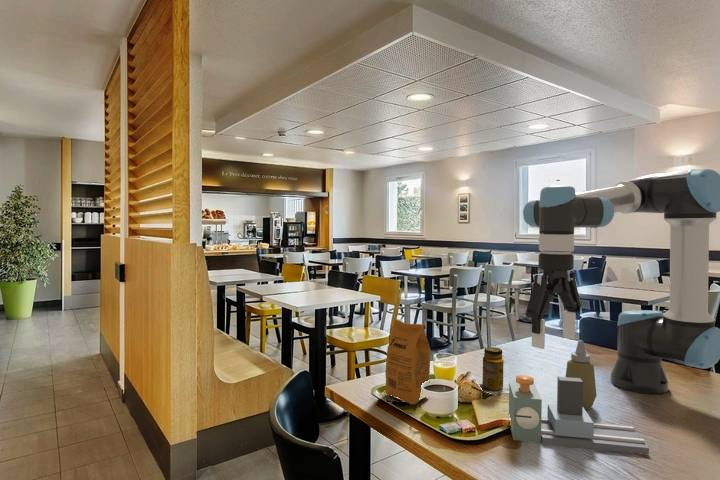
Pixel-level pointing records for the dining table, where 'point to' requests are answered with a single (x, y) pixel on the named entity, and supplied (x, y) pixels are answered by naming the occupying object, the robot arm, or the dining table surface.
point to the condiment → (493, 371)
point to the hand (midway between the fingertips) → (554, 342)
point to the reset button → (524, 382)
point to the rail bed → (598, 438)
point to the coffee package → (407, 361)
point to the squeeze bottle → (583, 373)
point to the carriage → (570, 410)
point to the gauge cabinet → (525, 413)
